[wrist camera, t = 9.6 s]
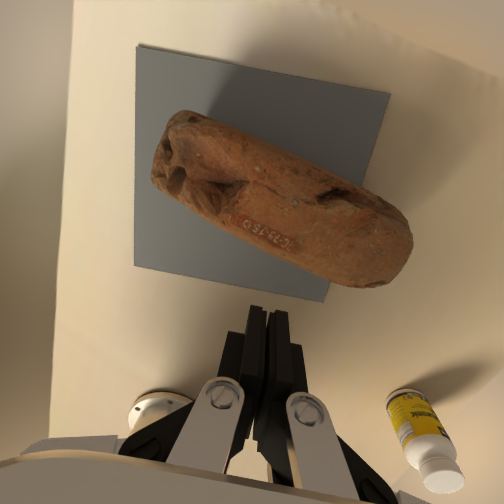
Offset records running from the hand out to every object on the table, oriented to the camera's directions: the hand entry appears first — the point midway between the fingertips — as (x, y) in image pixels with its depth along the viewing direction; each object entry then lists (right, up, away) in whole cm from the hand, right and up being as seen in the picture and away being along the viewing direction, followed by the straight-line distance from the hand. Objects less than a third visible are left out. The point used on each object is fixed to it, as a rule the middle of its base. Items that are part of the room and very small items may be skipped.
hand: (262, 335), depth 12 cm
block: (+11, +4, +12) cm, 17 cm away
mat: (-1, +10, +17) cm, 19 cm away
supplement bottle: (+21, -17, +26) cm, 37 cm away
